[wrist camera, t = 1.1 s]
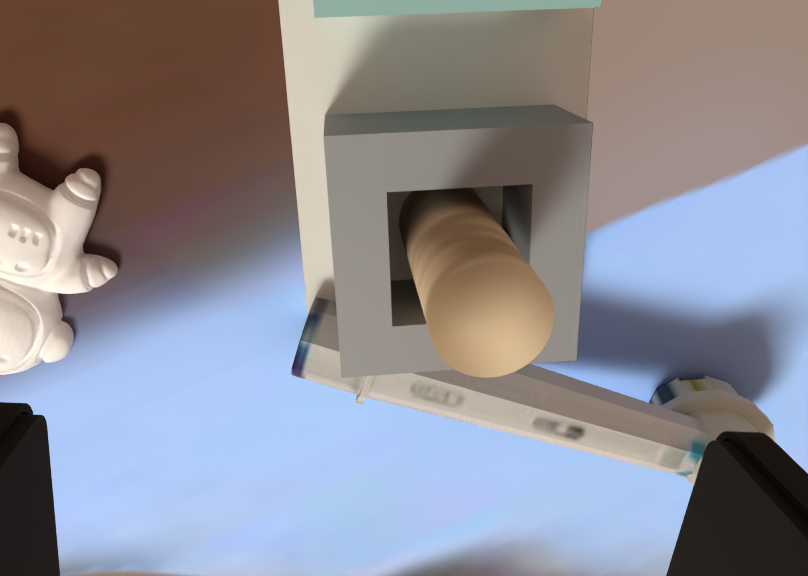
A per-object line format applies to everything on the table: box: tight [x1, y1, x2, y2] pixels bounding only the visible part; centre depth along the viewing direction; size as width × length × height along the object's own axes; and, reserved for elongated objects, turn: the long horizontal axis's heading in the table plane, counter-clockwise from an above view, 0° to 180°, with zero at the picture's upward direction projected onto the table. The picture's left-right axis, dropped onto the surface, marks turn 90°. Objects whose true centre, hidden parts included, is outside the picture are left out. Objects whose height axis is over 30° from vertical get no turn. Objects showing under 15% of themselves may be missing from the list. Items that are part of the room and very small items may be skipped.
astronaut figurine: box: [0, 123, 118, 375], centre depth 32 cm, size 9×12×3 cm
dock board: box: [279, 0, 602, 378], centre depth 28 cm, size 13×25×6 cm, turn 2°
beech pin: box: [399, 188, 554, 378], centre depth 27 cm, size 4×4×11 cm
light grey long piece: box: [291, 297, 775, 485], centre depth 35 cm, size 5×7×25 cm
